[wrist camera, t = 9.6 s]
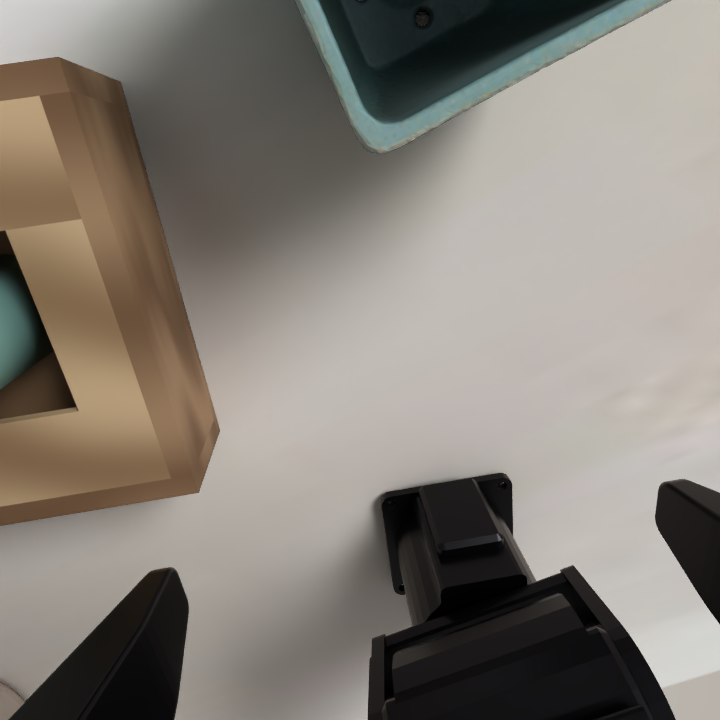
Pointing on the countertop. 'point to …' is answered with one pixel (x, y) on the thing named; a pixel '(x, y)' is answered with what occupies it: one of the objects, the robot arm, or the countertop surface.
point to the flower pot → (445, 54)
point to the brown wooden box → (92, 308)
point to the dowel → (18, 324)
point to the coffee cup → (8, 702)
